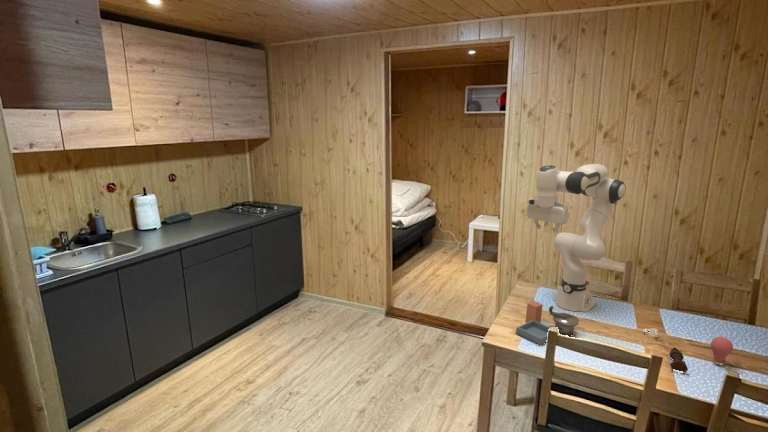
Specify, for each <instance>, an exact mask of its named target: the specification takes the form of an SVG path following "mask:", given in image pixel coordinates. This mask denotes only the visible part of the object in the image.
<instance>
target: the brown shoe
mask: <svg viewBox="0 0 768 432" xmlns="http://www.w3.org/2000/svg"><path fill="white" fill-rule="evenodd" d="M668 355H669V357H670V359H671V358H672V359H673V360H672V359H671V360H672V361H671V362H670V364H669V366H670V368H671V370H672V369H675V370H679V371H683V372H685V373H686V372H688V370H689V369H688V366H687V363H686V362H685V361H684V354H683V353H682V351H681V350H679V348H676V347H672V348H671V349H670V351H669V353H668Z"/></svg>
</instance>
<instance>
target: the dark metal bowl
mask: <svg viewBox="0 0 768 432" xmlns="http://www.w3.org/2000/svg"><path fill="white" fill-rule="evenodd" d="M553 309H554V306H553V305H550V307H549V308H548V313H549V315H551V316H552V320H553V321H554V322H555V327H558V329H559V333H560V334H562V335H568V336H570V337H572V336H571V335H573V336H574V333H575V331H574V330H575V327H576V326H578V325H579V322H580V320H579V317H577V316H575V315H572V314H569V313H568V312H567V313H566V312H555V311H553ZM555 327H554V328H555Z"/></svg>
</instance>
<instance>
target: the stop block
mask: <svg viewBox="0 0 768 432" xmlns="http://www.w3.org/2000/svg"><path fill="white" fill-rule="evenodd" d="M543 306H544V305H543V304H542V303H540V302H538V301H535V300H533V301H532V300H531V301H530V302H528V303H527V304H526V313H525V320H524V321H525V322H524V323H527V322H529V321H532V320H534V321H537V322H539V323H541V320H542V312H543Z"/></svg>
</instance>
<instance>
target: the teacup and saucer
mask: <svg viewBox="0 0 768 432" xmlns="http://www.w3.org/2000/svg"><path fill="white" fill-rule="evenodd" d="M642 330H643V332H644V331H645V332H648V331H650V332H648V333H649V334H650V335H652V336H655V338H656V337H658V336H657V335H658V332H659V329H657V328H655V327H654V328H653V327H650V328H644V329H642ZM647 330H648V331H647ZM650 335H649V336H650Z"/></svg>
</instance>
